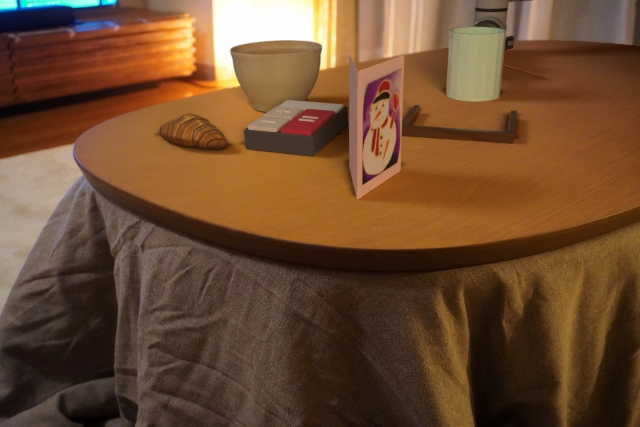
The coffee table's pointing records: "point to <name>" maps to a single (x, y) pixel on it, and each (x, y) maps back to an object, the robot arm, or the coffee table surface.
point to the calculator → (297, 127)
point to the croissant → (193, 133)
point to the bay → (457, 130)
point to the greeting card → (375, 123)
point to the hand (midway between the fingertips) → (476, 54)
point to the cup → (475, 63)
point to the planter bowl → (276, 70)
